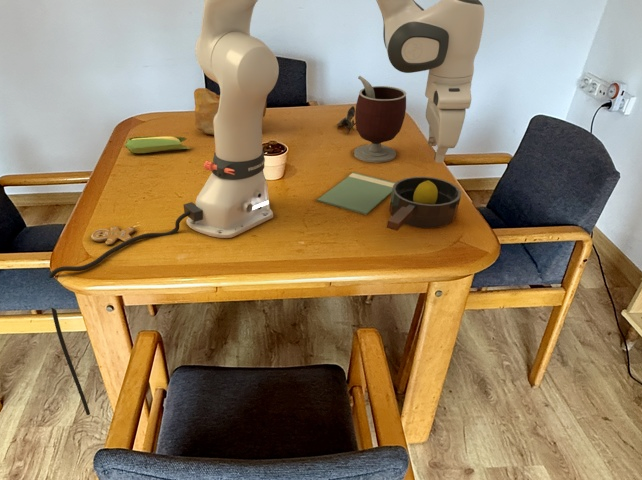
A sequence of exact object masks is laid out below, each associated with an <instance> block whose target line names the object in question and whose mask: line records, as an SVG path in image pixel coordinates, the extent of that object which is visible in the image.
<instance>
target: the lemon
mask: <svg viewBox="0 0 642 480" xmlns="http://www.w3.org/2000/svg"><path fill="white" fill-rule="evenodd" d="M437 196H438V191H437V187H436V185H435V184H434V183H432V182H430V181H429V180H428V181H425V182H422V183H421V184H419V185H418V186H417V188H416V190H415V192H414V196H413V202H416V203H420V204H429V205H432V204H435V203H436V201H437Z"/></svg>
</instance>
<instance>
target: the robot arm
mask: <svg viewBox="0 0 642 480" xmlns="http://www.w3.org/2000/svg"><path fill="white" fill-rule="evenodd" d="M375 1H376V3H377V5H378V6H377V7H378V9H379V10H380V13H381V16H382V23H383V29H382V31H383V32H382V34H383V36H382V37H383V44H384V46H385V49H386V53H387V57H388V61H389V63H390V64H391V66H392V67H393V68H394V69H396V70H397V71H398V72H400V73H404V74H411V73H419V72H425V71H428V74H427V80H426V84H425V85H426V86H425V91H424V96H425V97H426V98H427V103H426V109H425V119H426V122H427V124H428V140H427V144H428V146H429V147H436V152H435V153H434V158H433V160H434V162H435V163H436V164H440V163H441V164H442V163H443V162H444V161H445V158H446V154H447V152H448V150H449V149H455V148H456V146H457V145H458V143H459V140H460V136H461V134H462V130H463V126H464V122H465V118H466V110H468V109H470V108H471V105H472V91H471V89H472V82H473V77H474V73H475V58H476V56H477V54H478V52H479V49H480V46H481V41H482V35H483V29H484V22H485V7H484V5H483V3H482V2H481V1H480V0H439V1H438V2H437V3H434V4H433V5H431V6H429V7H427V8H426V9H424V8H423V7H422V6H421V5H420V4H419V3H417V1H415V0H375ZM257 2H259V0H203V8H202V9H203V10H202V17H201V19H202V20H201V26H200V34H199V36H198V37H197V40H196V43H195V48H194V53H195V59H196V62H197V64H198V66H199V67H200V69H201V71H202V72H203V73H204V75H205V76H206V77H207V78H208V79H210V80H211V81H213V82H214V83H216V84H218V86H219V92H220V94H219V95H220V103H219V109H218V112H217V114H216V115H215V117H214V120H213V124H214V135H213V137H214V150H215V152H214V154H213V158H212V162H211V161H209V160H205V161H204V163H203V167H204V168H203V169H204V170H205V171H209V172H211V174H210V175H209V177H208V178H207V180H206V182H205V183H204V185H203V186H202V189H201V190H200V191H199V193H198V194H197V196H196V198H195V203H194V202H193V201H191V202H187V203H184V204H183V213H182V214H181V215H180V216H178V217H177V219H176V220H175V227H174V228H173V229H172V230H170V231H167V232H150V233H149V232H147V233H142V234H138V235H137V236H134V237H132V238H131V239H129V240H127V241H125V242H124V241H122V242H121V243H119V244H117V245H115V246H114V247H112V248H110V249H108V250H107V251H105V252H104V253H102V254H101V255H100V256H99V257H97V258H96V259H94V260H93V261H90V262H89V263H87V264H83V265H79V266H71V265H67V266H66V265H65V266H59V267H56V268H55V269H53V270H51V272H50V273H49V275H48V278H49V279H53V278H54V277H55V276H56V275H57V274H59V273H62V272H82V271H83V272H84V271H86V270H89V269H91V268H93V267H95V266H97V265H98V264H100V263H101V262H103V261H105V259H107V258H108V257H110V255H111V256H112V255H113V254H114V253H116V252H118V251H119V250H122V249H123V248H126V247H127V246H129V245H131V244H134V243H136V242H138V241H140V240H143V239H147V238H160V237H165V236H171V235H174V234H176V233H178V231H179V230H180V223H181V222H182V221H183V219H185V218H187V219H186V225H187V226H188V227H189V229H192V230H193V231H195V232H198V233H199V234H203V235H205V236H210V237H213V238H218V239H219V238H220V239H231V238H234V237H236V236H238V235H241V234H242V233H244V232H246V231H248V230H250V229H252V228H255V227H256V226H259V225H261V224H263V223H265V222H267V221H269V220H271V219H273V218H274V212H273V210H272V209H271V206H270V205H271V204H270V195H269V186H268V182H267V179H266V177H265V173H264V169H265V162H266V158H265V152H264V150H263V118H264V117H263V111H264V107H265V102H266V103H267V100H268V99H267V98H268V95H269V94H270V93H271V92H272V90H274V88H275V86H276V84H277V82H278V78H279V72H280V71H279V70H280V67H279V62H278V61H279V60H278V59H277V57H276V55H275V53H274V52H273V51H272V50H271V48H270V47H269V46H268V45H267V44H266V43H265V42H264V41H262V40H261V39H259V38H257V37H255V36H252V35H251V22H252V17H253V14H254V9H255V7H256V5H257ZM50 309H51V314H52V319H53V323H54V326H55V330H56V334H57V337H58V340H59V344H60V346H61V350H62V352H63V355H64V357H65V360H66V362H67V366H68V368H69V371H70V373H71V376H72V378H73V381H74V383H75V386H76V389H77V392H78V394H79V396H80V400H81V402H82V405H83V408H84V412H85V414H86V416H90V415H91V412H90V408H89V405H88V402H87V399H86V396H85V393H84V391H83V389H82V385H81V384H80V381H79V378H78V375H77V372H76V369H75V368H74V367H75V366H74V364H73V362H72V359H71V357H70V354H69V351H68V348H67V345H66V342H65V339H64V336H63V332H62V329H61V325H60V321H59V316H58V312H57V309H55V308H53V307H50Z"/></svg>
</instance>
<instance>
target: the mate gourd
mask: <svg viewBox="0 0 642 480" xmlns="http://www.w3.org/2000/svg"><path fill="white" fill-rule="evenodd" d="M357 78H358V80H360V81H361V83H362V85H363V88H362V89H360V90H359V92H358V97H357V101H356V104H355V115H354V123H355V124H356V125H355V129H356V131H357V133H358V135H359V136H360V138H361V139H363V140H365V141H367V142H370V144H364V145H360V146H358V147H356V148H355V149H354V150H353V155H354V157H355V158H356V159H357V160H360V161H363V162H367V163H376V164H377V163H386V162H390V161H392V160H394V159H395V158H396V155H397V152H396V150H395V149H394V148H392V147H389V146H388V145H382V144H383V143H385V142H390V141H392V140H393V139H394V138H395V137H396V136H397V135H398V134H399V133H400V132H401V130H402V127H403V124H404V121H405V117H406V111H407V92H406V91H405V90H404V89H402V88H399V87H394V86H389V85H388V86H387V85H376V86H373V85H372V84H371V83H370V82H369V81H368V80H367V79H365V77H362V76H361V75H359V76H358V77H357Z"/></svg>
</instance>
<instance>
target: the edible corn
mask: <svg viewBox="0 0 642 480" xmlns="http://www.w3.org/2000/svg"><path fill="white" fill-rule="evenodd" d="M186 140H187V138H186V137H183V136H166V135H165V136H162V135H161V136H160V135H159V136H157V135H156V136H154V135H153V136H152V135H151V136H150V135H149V136H133V137H129V138H128V139H127V140H126V142H125V144H124V146H125V149H127V150H128V151H129V152H130V153H132V154H137V155H141V154H149V153H151V154H152V153H158V152H167V151H178V150H189V149H191V147H188V146H186V145H184V144H183V143H182V142H185V141H186Z"/></svg>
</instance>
